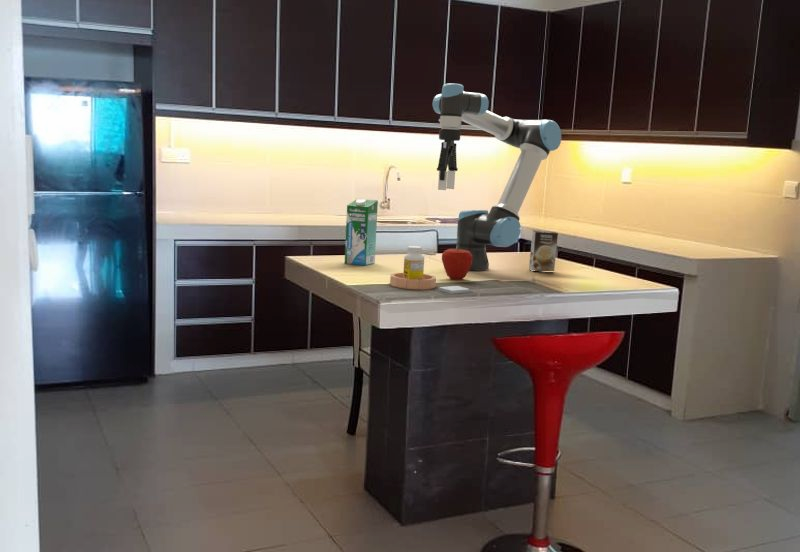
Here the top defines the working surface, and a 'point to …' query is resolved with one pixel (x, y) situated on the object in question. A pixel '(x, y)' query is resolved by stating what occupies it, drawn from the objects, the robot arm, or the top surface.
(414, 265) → the supplement bottle
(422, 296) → the top surface
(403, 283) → the bowl
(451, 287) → the light grey flat block
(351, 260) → the milk carton
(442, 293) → the mat
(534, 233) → the coffee box
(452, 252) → the apple
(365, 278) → the top surface
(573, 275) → the top surface
